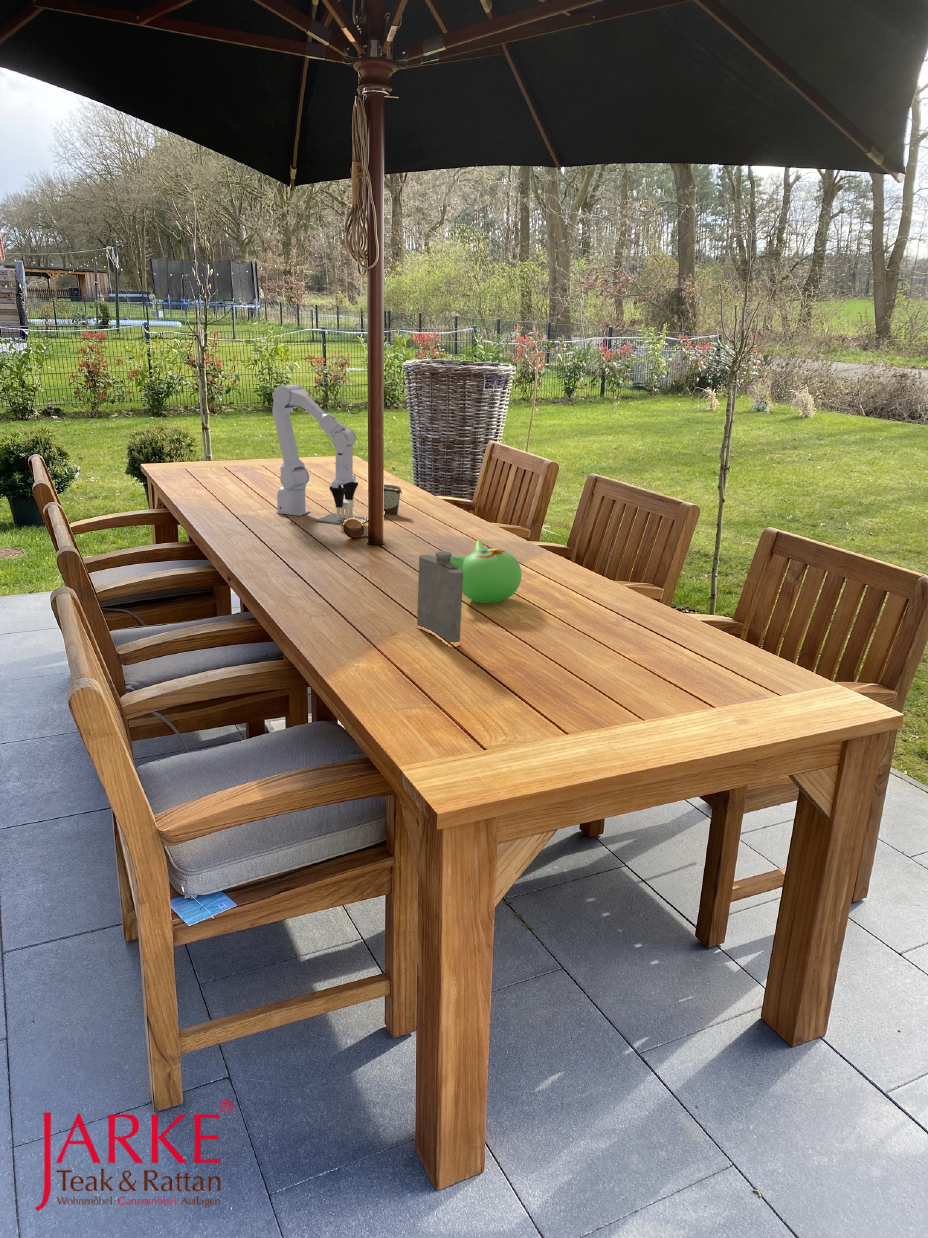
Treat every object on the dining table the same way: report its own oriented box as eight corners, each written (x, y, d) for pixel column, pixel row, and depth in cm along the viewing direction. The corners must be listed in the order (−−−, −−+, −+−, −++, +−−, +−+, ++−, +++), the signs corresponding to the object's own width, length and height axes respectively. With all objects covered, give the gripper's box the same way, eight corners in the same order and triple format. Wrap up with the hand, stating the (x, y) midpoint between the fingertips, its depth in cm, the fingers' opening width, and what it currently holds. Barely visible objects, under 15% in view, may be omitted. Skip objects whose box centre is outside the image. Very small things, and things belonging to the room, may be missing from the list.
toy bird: (496, 616, 222) (500, 559, 217) (440, 602, 231) (442, 547, 226) (530, 598, 237) (534, 545, 232) (476, 586, 245) (479, 534, 240)
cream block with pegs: (347, 521, 307) (347, 502, 305) (335, 519, 308) (335, 501, 306) (353, 518, 311) (353, 500, 309) (341, 517, 312) (341, 498, 310)
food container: (404, 512, 326) (404, 485, 323) (401, 516, 320) (401, 488, 317) (370, 510, 327) (371, 483, 324) (367, 514, 321) (367, 486, 318)
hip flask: (414, 626, 212) (417, 545, 206) (429, 624, 215) (432, 543, 208) (450, 648, 200) (454, 562, 193) (465, 645, 202) (469, 560, 196)
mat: (316, 521, 307) (316, 519, 306) (332, 514, 317) (332, 513, 317) (356, 526, 302) (356, 525, 302) (370, 519, 313) (370, 518, 313)
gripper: (345, 470, 296) (345, 510, 300) (363, 463, 309) (363, 502, 313) (326, 467, 298) (326, 508, 302) (345, 461, 311) (345, 500, 315)
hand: (344, 505), depth 308 cm, fingers open, 7 cm apart
